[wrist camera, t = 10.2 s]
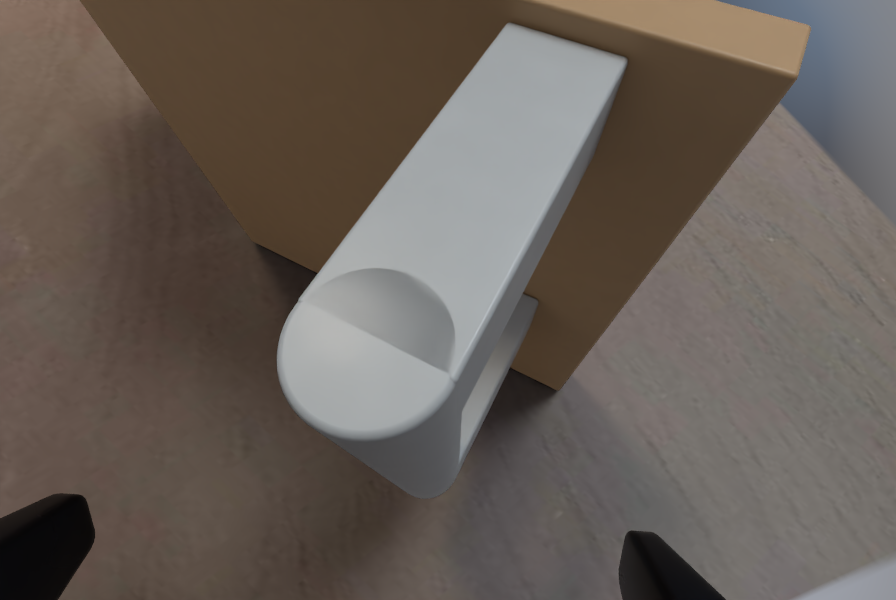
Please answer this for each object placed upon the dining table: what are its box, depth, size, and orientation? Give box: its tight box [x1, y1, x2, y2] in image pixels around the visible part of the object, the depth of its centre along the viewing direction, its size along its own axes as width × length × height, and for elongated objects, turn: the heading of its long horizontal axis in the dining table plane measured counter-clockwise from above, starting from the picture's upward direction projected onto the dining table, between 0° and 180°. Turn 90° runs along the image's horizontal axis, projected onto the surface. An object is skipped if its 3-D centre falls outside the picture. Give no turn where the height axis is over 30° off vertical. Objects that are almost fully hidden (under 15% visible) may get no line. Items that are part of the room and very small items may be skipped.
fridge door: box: [80, 0, 811, 499], centre depth 11 cm, size 6×14×12 cm, turn 62°
